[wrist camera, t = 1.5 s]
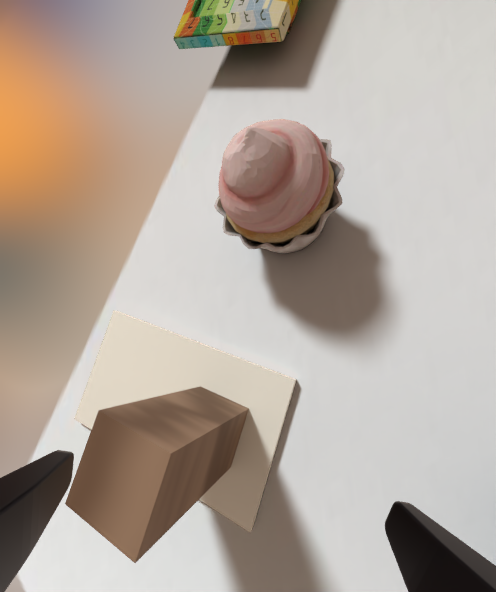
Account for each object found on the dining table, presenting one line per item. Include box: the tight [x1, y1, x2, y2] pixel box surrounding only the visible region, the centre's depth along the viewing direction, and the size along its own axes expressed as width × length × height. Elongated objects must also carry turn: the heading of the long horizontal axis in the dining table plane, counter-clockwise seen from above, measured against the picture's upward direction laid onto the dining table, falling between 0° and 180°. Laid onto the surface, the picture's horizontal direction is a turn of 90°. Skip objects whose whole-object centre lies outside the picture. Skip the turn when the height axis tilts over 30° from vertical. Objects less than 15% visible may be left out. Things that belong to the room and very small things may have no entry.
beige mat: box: [74, 311, 297, 532], centre depth 23 cm, size 19×11×1 cm, turn 70°
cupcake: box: [215, 119, 344, 253], centre depth 19 cm, size 9×9×10 cm
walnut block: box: [65, 386, 249, 563], centre depth 17 cm, size 4×4×10 cm
